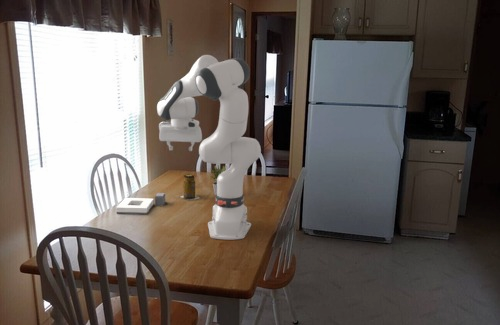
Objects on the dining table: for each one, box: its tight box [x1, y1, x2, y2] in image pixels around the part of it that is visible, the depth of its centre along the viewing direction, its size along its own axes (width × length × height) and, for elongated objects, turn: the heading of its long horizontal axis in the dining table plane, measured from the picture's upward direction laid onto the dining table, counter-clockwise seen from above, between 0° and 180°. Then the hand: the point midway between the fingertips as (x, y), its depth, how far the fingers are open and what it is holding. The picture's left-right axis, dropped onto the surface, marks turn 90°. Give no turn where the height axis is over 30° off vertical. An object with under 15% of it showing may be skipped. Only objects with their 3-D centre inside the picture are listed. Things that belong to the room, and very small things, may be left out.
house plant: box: [207, 165, 228, 196], centre depth 232 cm, size 14×14×16 cm
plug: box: [154, 192, 166, 207], centre depth 219 cm, size 5×4×5 cm
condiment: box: [179, 173, 200, 201], centre depth 228 cm, size 7×8×12 cm
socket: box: [115, 197, 155, 215], centre depth 211 cm, size 14×14×3 cm
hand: (180, 150), depth 214 cm, fingers open, 8 cm apart
